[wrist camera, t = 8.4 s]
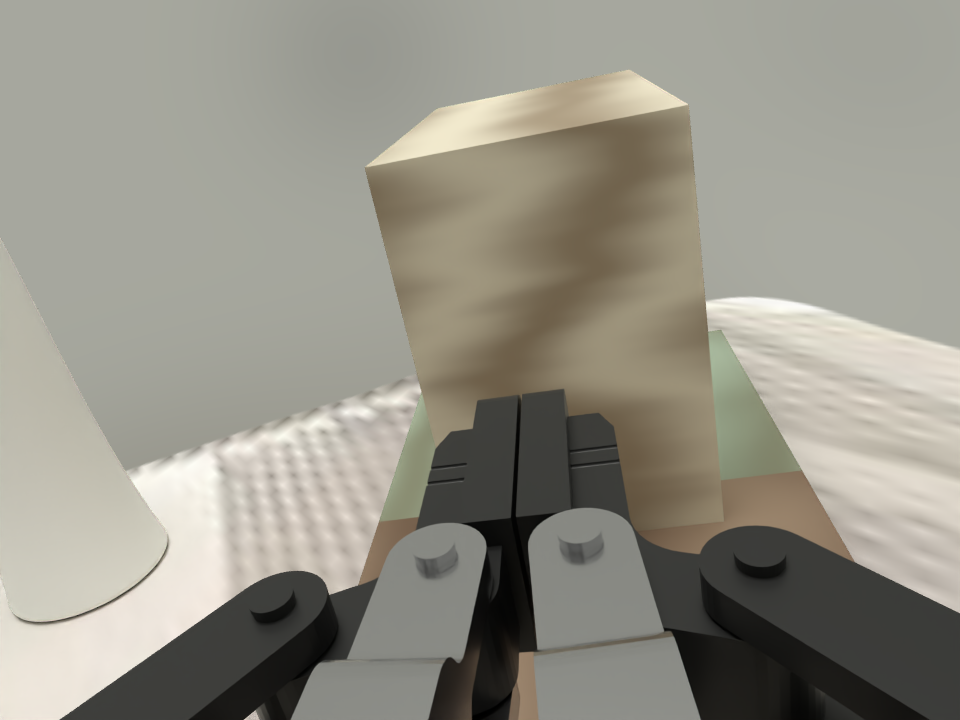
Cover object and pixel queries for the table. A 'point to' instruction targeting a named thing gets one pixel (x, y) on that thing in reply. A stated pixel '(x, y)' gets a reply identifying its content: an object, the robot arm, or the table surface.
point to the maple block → (562, 273)
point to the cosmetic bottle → (60, 480)
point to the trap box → (746, 502)
